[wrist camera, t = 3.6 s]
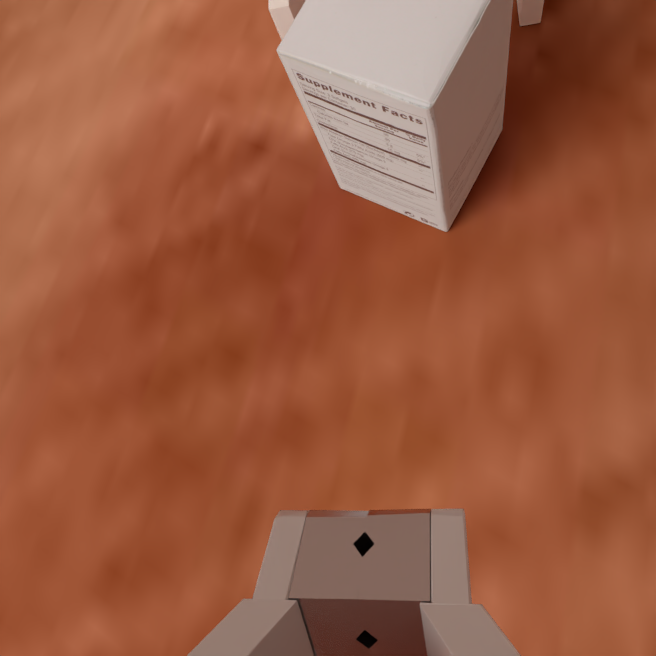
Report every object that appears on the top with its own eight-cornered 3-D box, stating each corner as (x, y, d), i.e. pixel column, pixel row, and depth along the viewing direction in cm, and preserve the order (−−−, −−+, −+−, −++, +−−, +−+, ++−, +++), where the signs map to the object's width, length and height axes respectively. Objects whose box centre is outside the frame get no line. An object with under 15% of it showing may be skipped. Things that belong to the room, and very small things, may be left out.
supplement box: (393, 89, 37) (357, -98, 25) (506, 129, 34) (526, -55, 22) (335, 190, 36) (269, 48, 24) (446, 238, 33) (433, 107, 22)
